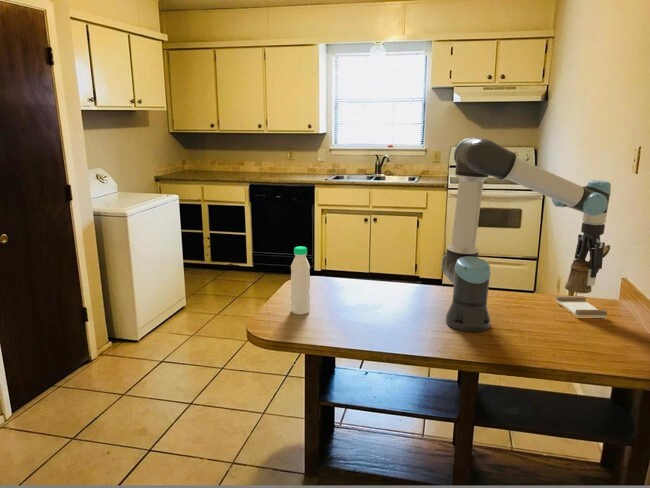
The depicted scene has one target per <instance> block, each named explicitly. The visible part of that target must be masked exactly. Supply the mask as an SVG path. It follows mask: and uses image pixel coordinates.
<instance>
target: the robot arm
mask: <svg viewBox="0 0 650 488" xmlns="http://www.w3.org/2000/svg"><path fill="white" fill-rule="evenodd" d="M453 158H454V159H453V160H454V162H455V173H454V174H455V176H456V178H457V179H458V186H457V193H456V202H455V210H454V217H453V218H454V220H453V226H452V227H453V228H452V236H451V243H449V245H447V247H446V253H445V254H444V256H443V258H442V260H441V269H442V271H443V274H444V275H445V277H446V278H447V279H448V280H449V282H451V283H452V285H453V291H452V292H453V293H452V301H451V304H450V306H449V308H448V310H447V312H446V314H445V323H446V325H448V326H449V327H451V328H452V329H455V330H458V331H461V332H466V333H480V332H486V331H487V330H489V329H490V326H491V325H490V324H491V318H490V314H489V311H488V307H487V304H488V294H489V288H490V287H489V286H490V277H491V266H490V263H488V261H487V260H485V259H483V258H480V257H479V253H480V251H479V249H478V248H477V246H476V243H477V236H478V227H479V218H480V214H481V213H480V212H481V211H480V210H481V205H482V197H483V188H484V182H485V181H486V180H487V179H489V177H492V178H495V179H499V180H500V181H503V180H508V181H509V182H510V181H511V182H513V183H515V184H517V185H520V186H522V187H524V188H526V189H529V190H531V191H533V192H535V193H537V194H541V195H542V196H545V197H547V198H550V199H551V201H552V204H553V205H554V206H555V207H557V208H570V209H573V210H576V211H579V212H582V213H583V215H582V223H581V227H580V228H581V230H580V231H581V233H583V234H580V233H579V234H578V235H577V244H576V249H575V254H574V260H575V259H579V260H585V261H587V260H586V258H587V257H588V254H589V260H590V268H589V270H588V276H587V286H591V287H592V286H595V283H596V278H597V274H598V273H597V269H599V270H602V269H603V260H604V259H603V249H604V246H606V244H605V242H602V241H601V236H602V235H604V233H605V228H606V225H605V223H606V220H607V216H608V214H607V213H608V208H609V202H610V196H611V187H612V184H611V182H609V181H606V180H597V179H595V180H594V179H592V180H591V179H590V180H589V181H587V184H586V185H585V186H582V185H580V184H578V183H575V182H573V181H570V180H568V179H566V178H564V177H561V176H559V175H558V174H554V173H553V172H551V171H548V170H546V169H544V168H541V167H539V166H537V165H535V164H532V163H529V162H527V161H525V160H523V159H521V158H519V157H518V156H517V153H515V152H514V151H511V150H509V149H508V148H505V146H504V147H503V146H502V145H500V144H499V143H496V142H494V141H493V140H491V139H488V138H481V137H477V136H475V137H472V136H471V137H468V138H464V139H463V140H461V141H460V142H459V143H458V144H457V146H456V147H455V149H454V153H453ZM593 265H594V266H593Z"/></svg>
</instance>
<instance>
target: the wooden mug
mask: <svg viewBox="0 0 650 488" xmlns="http://www.w3.org/2000/svg"><path fill="white" fill-rule="evenodd" d="M610 250H611V245H610V244H608V245H605V246H604V249H603V258H604V257H605V258H606V256H607V255H608V254H609V252H610ZM585 260H586V259H585ZM585 260H579V259H575V258H574V260H573V262H572V263H571V265H570V271H569V275H568V278H567V280H566V283H565V286H564V289H565V290H567V291H569V292H571V293H577V294H589V293H592V286H587V276H588V270H589V268H590V259H588V260H586V261H585ZM593 266H594V265H593ZM599 270H600V269H597V274H598V273H599Z"/></svg>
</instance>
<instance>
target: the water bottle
mask: <svg viewBox="0 0 650 488" xmlns="http://www.w3.org/2000/svg"><path fill="white" fill-rule="evenodd" d="M293 253H294V258H293V260H292V263H291V265H290V272H291V273H290V289H291V290H290V291H291V294H290V302H291V303H290V312H291V313H293V314H294V315H306V314H309V312H310V309H311V308H310V307H311V305H310V299H311V296H310V290H311V289H310V288H311V274H310V270H311V265H310V263H309V261H308V258H307V255H308V248H307V246H301V245H300V246H296V247H295V246H294V248H293Z"/></svg>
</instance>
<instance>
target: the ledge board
mask: <svg viewBox="0 0 650 488" xmlns="http://www.w3.org/2000/svg"><path fill="white" fill-rule="evenodd" d="M586 298H587V297H586V296H584V295H557V296H556V301H555V303H556V302H558V303H559V304H561V305H563V306H564V307H566V308H567V309H568V310H569V311H571V312H572V313H573V314H574V315H576V316H577V317H593V318H606V319H607V315H608V311H607V310H606V309H598V308H596V307H595V306H594V305H592V304H590V303H589V302H588V301H586V300H587V299H586Z"/></svg>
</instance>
